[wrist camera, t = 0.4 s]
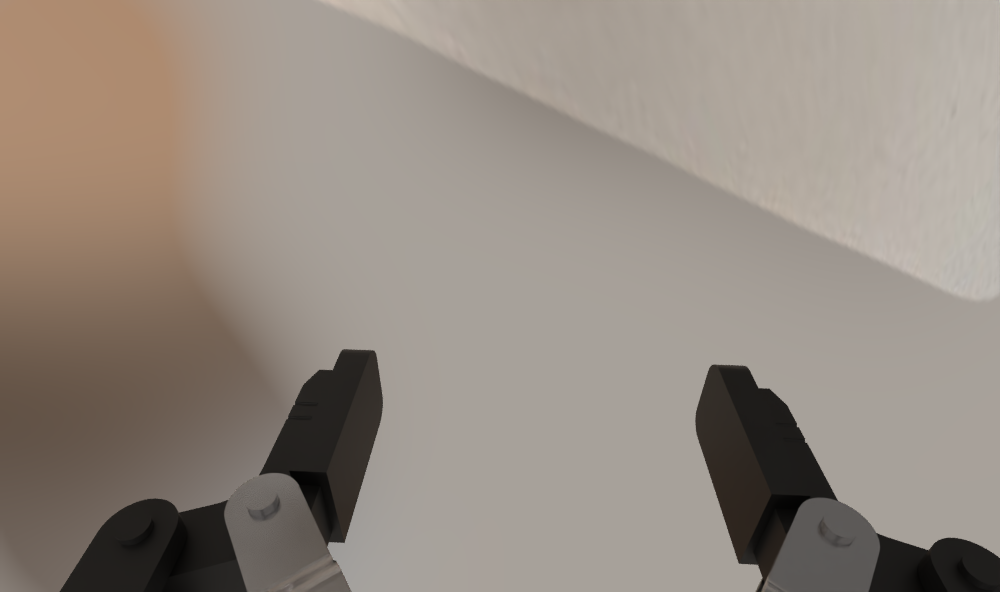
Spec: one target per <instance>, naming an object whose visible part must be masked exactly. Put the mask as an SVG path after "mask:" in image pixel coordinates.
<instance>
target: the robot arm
mask: <svg viewBox="0 0 1000 592" xmlns="http://www.w3.org/2000/svg"><path fill="white" fill-rule="evenodd" d="M382 408H383V397H382V390H381V383H380V377H379V370H378V363H377V357H376V353H375V351H373V350H372V351H371V350H348V349H344V350H342V351H341V353H340V355H339V357H338V359H337V362H336V364H335V366H334V369H333V370H319V371H318V372H317V373H316V374H314V376H312V377H311V378H310V379H309V380H308V381H307V382H306V383H305V384H304V385H303V387H302V389H301V391H300V393H299V395H298V397H297V399H296V401H295V405H293V407H292V410H291V412H290V413H289V416H288V419H287V420H286V422H285V424H284V426H283V428H282V430H281V432H280V434H279V436H278V438H277V440H276V442H275V444H274V446H273V448H272V451H271V453H270V455H269V457H268V459H267V461H266V463H265V465H264V467H263V469H262V471H261V473H260V474H259V476H257V477H254V478H252V479H250V480H248V481H247V482H245V483H244V484H242V485H241V486H240V487H239V488H238V489H236V491H235V492H234V493H233V494H232V495H231V497H230V498H229V500H226V501H224V502H221V503H218V504H214V505H210V506H205V507H201V508H197V509H193V510H189V511H185V512H180V513H178V511H177V509H176V507H175V506H174V505H173V504H172V503H171V502H169V501H167V500H163V499H147V500H143V501H139V502H136V503H133V504H132V505H129V506H127V507H125V508H123V509H122V510H120V511H118V512H117V513H116V514H114V515H113V516H112V517H111V518H110V519H108V520H107V521H106V522H105V524H104V525H103V526H102V527H101V528H100V530H99V531H98V533H97V534H96V536H95V537H94V539H93V540H92V542H91V544H90V545H89V547H88V548H87V550H86V551H85V553H84V554H83V556H82V558H81V559H80V561H79V563H78V564H77V565H76V567H75V569H74V570H73V572H72V573H71V575H70V576H69V578H68V580H67V581H66V583H65V584H64V586H63V587H62V589H61V591H60V592H351V590H350V588H349V586H348V583H347V581H346V579H345V577H344V575H343V573H342V571H341V569H340V567H339V565H338V564H337V562H336V561H334V560H333V558H332V556H331V554H330V552H329V550H328V548H327V546H328V543H329V542H341V543H344V542H345V539H346V536H347V532H348V529H349V526H350V522H351V519H352V516H353V512H354V509H355V505H356V502H357V499H358V495H359V492H360V489H361V485H362V482H363V479H364V475H365V472H366V468H367V465H368V462H369V458H370V455H371V452H372V448H373V444H374V441H375V438H376V435H377V431H378V428H379V425H380V421H381V416H382ZM696 432H697V436H698V440H699V443H700V446H701V449H702V452H703V455H704V458H705V461H706V464H707V467H708V470H709V473H710V476H711V479H712V483H713V486H714V489H715V492H716V495H717V498H718V501H719V504H720V507H721V510H722V513H723V516H724V519H725V522H726V525H727V529H728V532H729V535H730V538H731V541H732V544H733V547H734V550H735V553H736V556H737V559H738V562H739V564H756V565H758V566H759V569H760V571H761V574H762V577H763V578H762V579H761V582H760V583H759V585H758V588H757V590H756V592H1000V558H999V557H998V556H996V555H995V554H994V553H992V552H990V551H989V550H987V549H985V548H983V547H981V546H979V545H977V544H975V543H972V542H970V541H967V540H963V539H958V538H944V539H941V540H938V541H937V542H935V543H934V544H933V546H932V547H931V548H930V549H929V550H925V549H922V548H919V547H916V546H913V545H910V544H907V543H903V542H900V541H897V540H894V539H891V538H888V537H885V536H882V535H880V534H878V533H876V532H875V530H874V529H873V527H872V526H871V524H870V523H869V522H868V521H867V520H866V519H865V518H864V517H863V516H862V515H861V514H859V513H858V512H857V511H856V510H854V509H853V508H851V507H849V506H848V505H846V504H843V503H841V502H839V501H838V500H837V498H836V496H835V495H834V493H833V491H832V489H831V487H830V485H829V483H828V481H827V480H826V478H825V476H824V474H823V472H822V470H821V468H820V466H819V464H818V463H817V461H816V459H815V457H814V455H813V453H812V451H811V449H810V448H809V446H808V444H807V443H805V438H804V436H803V435H802V433H801V431H800V429H799V427H797V423H796V421H795V419H794V417H793V416H792V414H791V412H790V410H789V408H788V406H787V405H786V404H785V403H784V402H783V401H782V400H781V399H780V398H779V397H778V396H776V394H774V393H773V392H772V391H771V390H770V389H762V388H758V386H757V385H756V382H755V381H754V379H753V376H752V375H751V372H750V370H749V369H748V368H747V367H746V366H735V365H712V366H711V367H710V368H709V371H708V374H707V377H706V380H705V384H704V387H703V390H702V394H701V397H700V401H699V404H698V407H697V411H696Z"/></svg>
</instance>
